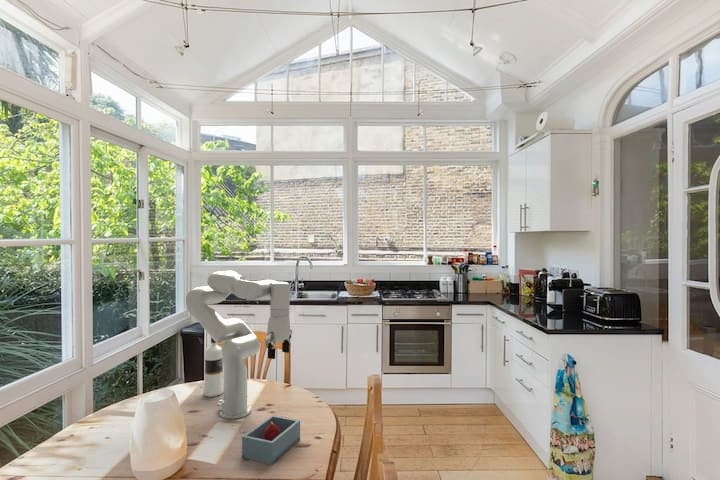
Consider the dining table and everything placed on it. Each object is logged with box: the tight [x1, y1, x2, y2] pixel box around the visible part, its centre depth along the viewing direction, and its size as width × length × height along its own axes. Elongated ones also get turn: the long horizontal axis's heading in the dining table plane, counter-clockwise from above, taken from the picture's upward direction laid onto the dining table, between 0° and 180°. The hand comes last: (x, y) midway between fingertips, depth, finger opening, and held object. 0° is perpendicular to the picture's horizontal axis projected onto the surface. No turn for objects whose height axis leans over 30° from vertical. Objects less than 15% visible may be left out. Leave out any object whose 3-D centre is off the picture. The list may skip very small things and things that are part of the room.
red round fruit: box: [264, 422, 281, 441], centre depth 141 cm, size 6×6×8 cm
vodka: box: [202, 337, 224, 398], centre depth 191 cm, size 9×9×30 cm
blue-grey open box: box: [241, 414, 301, 465], centre depth 140 cm, size 12×18×7 cm, turn 159°
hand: (278, 355), depth 160 cm, fingers open, 9 cm apart
